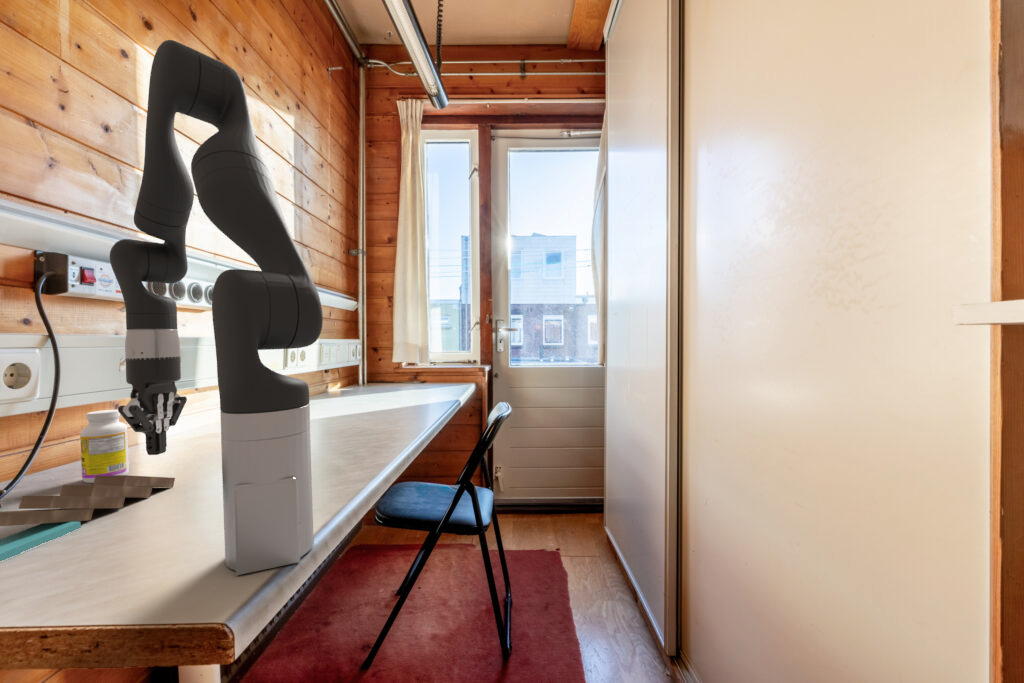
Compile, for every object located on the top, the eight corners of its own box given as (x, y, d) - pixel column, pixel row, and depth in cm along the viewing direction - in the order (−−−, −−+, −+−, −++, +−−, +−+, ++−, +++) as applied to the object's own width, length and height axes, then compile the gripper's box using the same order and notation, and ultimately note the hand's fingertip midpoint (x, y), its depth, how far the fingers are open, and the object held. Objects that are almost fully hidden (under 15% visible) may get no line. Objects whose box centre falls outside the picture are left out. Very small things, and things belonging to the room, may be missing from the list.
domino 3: (122, 508, 68) (49, 508, 59) (94, 508, 69) (18, 508, 60) (125, 497, 69) (53, 495, 60) (97, 497, 70) (22, 496, 60)
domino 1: (90, 520, 64) (5, 526, 55) (61, 520, 65) (-28, 526, 55) (93, 508, 65) (9, 512, 55) (64, 508, 65) (-24, 512, 56)
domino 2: (80, 533, 62) (-7, 570, 52) (46, 533, 62) (-48, 571, 52) (80, 521, 62) (-8, 557, 52) (46, 521, 62) (-48, 557, 52)
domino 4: (149, 497, 74) (91, 496, 64) (121, 497, 74) (59, 496, 65) (152, 487, 74) (94, 484, 65) (124, 487, 75) (63, 485, 65)
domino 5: (172, 487, 79) (123, 486, 69) (145, 487, 79) (92, 486, 69) (175, 477, 79) (126, 475, 70) (148, 478, 79) (95, 475, 70)
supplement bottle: (91, 476, 87) (88, 410, 87) (134, 471, 90) (131, 407, 90) (75, 486, 81) (72, 415, 81) (121, 480, 84) (119, 412, 84)
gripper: (145, 356, 72) (148, 463, 72) (200, 353, 85) (203, 444, 85) (97, 357, 72) (101, 465, 72) (160, 354, 85) (163, 445, 85)
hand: (156, 453), depth 79 cm, fingers closed
